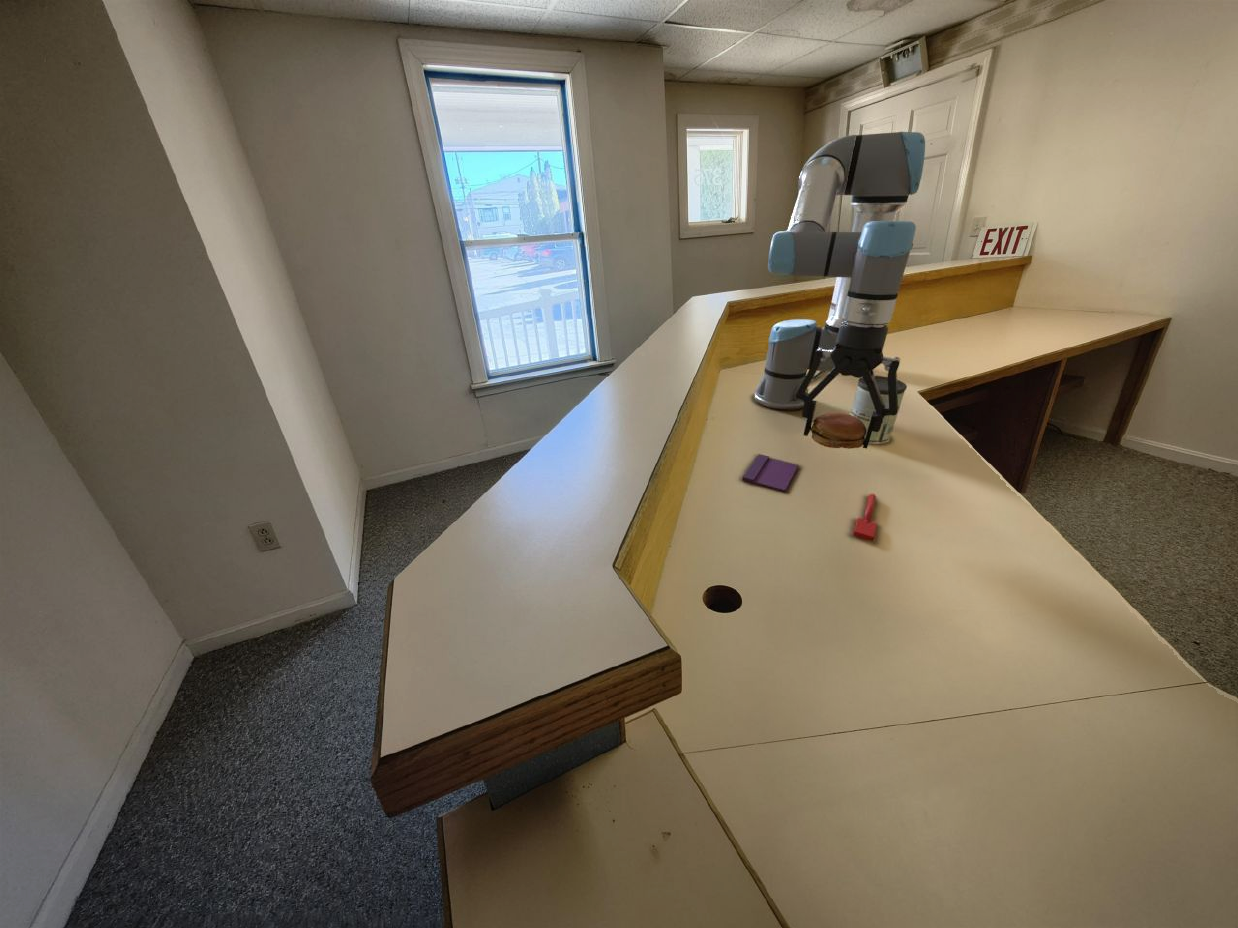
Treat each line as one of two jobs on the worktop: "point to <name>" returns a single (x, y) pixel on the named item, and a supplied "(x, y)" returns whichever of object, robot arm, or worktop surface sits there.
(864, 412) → the coffee can
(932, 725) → the worktop surface
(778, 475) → the cloth
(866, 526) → the red spatula
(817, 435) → the burger
